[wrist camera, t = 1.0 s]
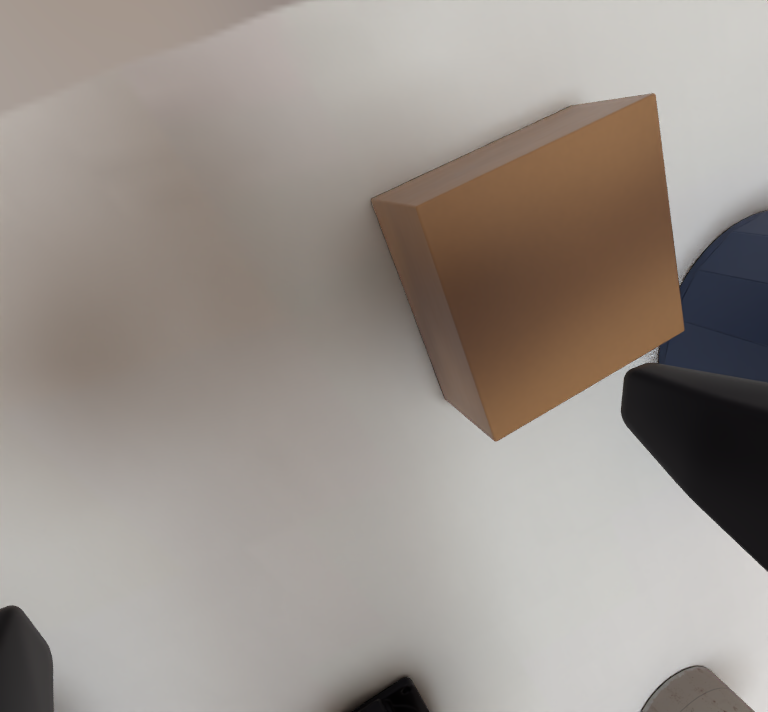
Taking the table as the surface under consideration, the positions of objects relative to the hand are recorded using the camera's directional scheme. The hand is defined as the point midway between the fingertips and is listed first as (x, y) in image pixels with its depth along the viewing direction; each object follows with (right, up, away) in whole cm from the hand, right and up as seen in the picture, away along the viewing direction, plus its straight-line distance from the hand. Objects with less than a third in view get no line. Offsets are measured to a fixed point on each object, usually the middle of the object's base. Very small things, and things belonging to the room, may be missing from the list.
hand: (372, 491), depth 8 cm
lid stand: (+6, +6, +17) cm, 19 cm away
